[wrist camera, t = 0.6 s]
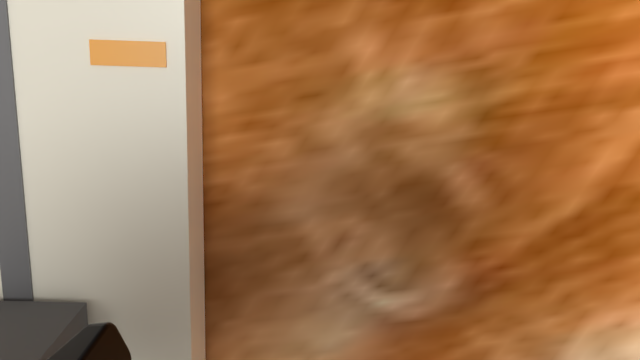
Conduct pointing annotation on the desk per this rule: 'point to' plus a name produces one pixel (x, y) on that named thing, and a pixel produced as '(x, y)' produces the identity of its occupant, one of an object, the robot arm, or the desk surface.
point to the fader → (38, 327)
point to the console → (105, 165)
